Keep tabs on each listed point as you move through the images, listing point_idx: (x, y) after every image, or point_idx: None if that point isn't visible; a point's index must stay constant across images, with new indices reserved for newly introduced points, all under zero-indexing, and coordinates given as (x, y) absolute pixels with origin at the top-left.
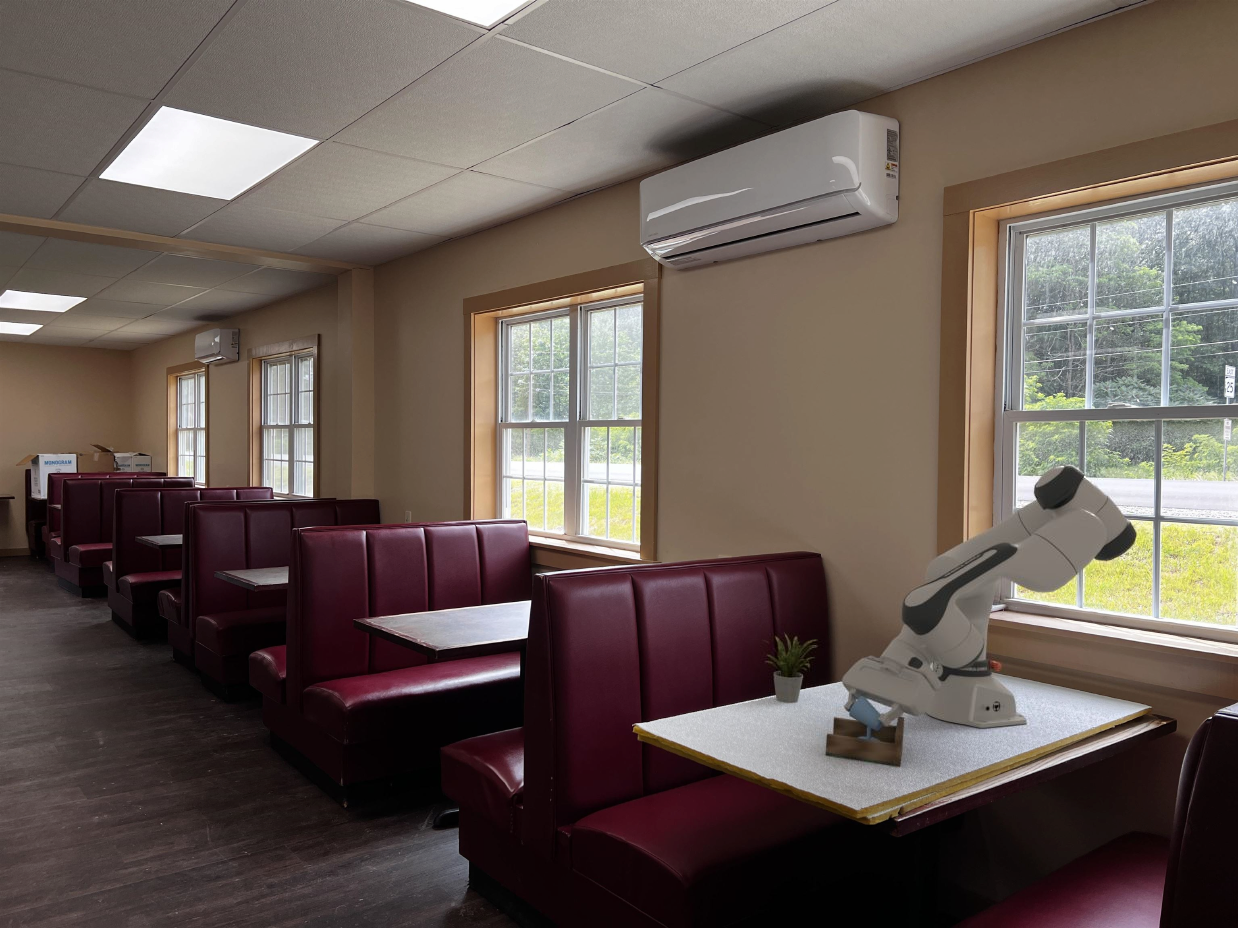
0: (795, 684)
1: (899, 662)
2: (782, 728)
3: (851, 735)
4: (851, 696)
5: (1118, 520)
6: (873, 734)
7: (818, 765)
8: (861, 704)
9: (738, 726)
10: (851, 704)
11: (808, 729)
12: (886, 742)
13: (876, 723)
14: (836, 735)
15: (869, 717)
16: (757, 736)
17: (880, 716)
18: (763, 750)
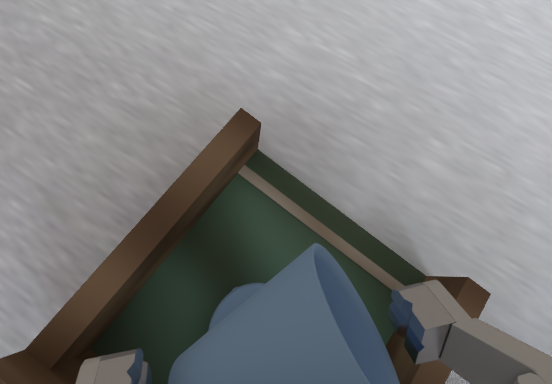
0: None
1: None
2: (514, 148)
3: (394, 338)
4: (496, 352)
5: None
6: None
7: (156, 67)
8: (281, 306)
9: (525, 29)
10: (411, 310)
11: (508, 233)
12: (79, 331)
13: (182, 356)
14: (227, 144)
15: (217, 329)
16: (434, 34)
17: (123, 373)
18: None
